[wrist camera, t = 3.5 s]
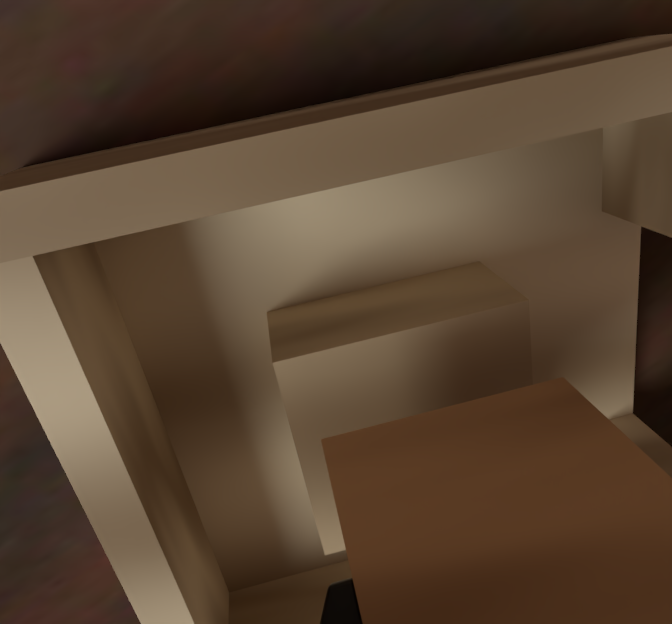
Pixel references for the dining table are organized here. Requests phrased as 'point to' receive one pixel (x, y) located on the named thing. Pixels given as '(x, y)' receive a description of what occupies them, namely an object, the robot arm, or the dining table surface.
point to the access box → (324, 304)
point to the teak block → (504, 515)
